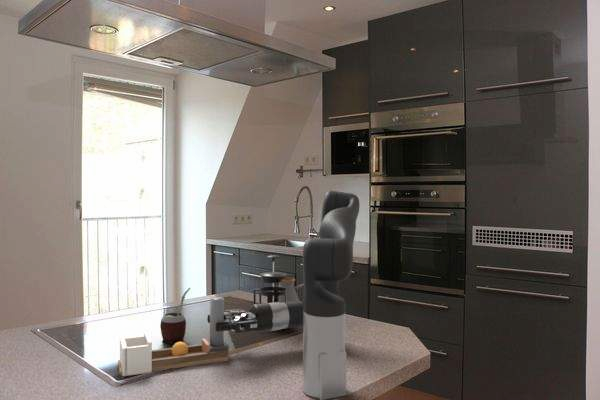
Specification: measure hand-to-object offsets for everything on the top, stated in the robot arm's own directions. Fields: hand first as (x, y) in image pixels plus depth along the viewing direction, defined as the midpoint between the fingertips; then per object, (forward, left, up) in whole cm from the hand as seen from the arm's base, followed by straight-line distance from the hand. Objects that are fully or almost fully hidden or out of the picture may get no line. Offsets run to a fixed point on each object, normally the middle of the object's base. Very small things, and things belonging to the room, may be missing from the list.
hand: (211, 322), depth 122 cm
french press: (+22, -25, -9) cm, 35 cm away
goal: (0, +19, -9) cm, 21 cm away
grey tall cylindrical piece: (0, -1, -8) cm, 8 cm away
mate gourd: (+17, +7, -9) cm, 20 cm away
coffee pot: (+30, -39, -9) cm, 50 cm away
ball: (0, +8, -6) cm, 10 cm away
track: (0, +10, -9) cm, 13 cm away
